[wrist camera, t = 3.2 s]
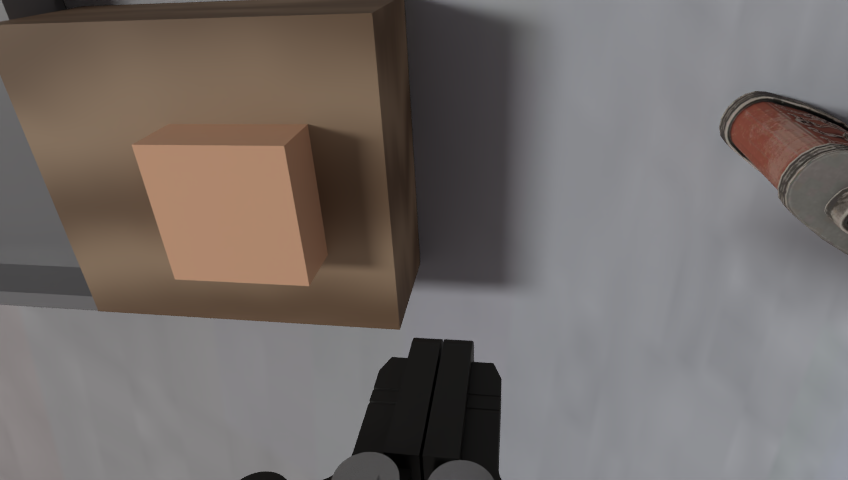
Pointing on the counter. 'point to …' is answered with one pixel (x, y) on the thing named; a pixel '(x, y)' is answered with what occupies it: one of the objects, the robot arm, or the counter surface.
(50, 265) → the tray
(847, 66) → the counter surface
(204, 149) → the tile
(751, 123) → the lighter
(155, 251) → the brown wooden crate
